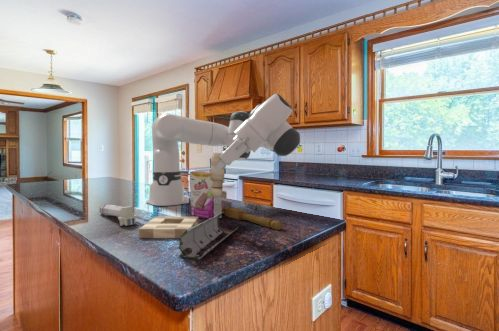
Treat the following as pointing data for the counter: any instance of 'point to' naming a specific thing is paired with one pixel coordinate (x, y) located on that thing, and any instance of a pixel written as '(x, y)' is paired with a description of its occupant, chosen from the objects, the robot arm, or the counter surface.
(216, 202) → the candy bar box
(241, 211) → the tap handle
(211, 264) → the counter surface
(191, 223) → the board
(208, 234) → the grey angled channel
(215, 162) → the peg
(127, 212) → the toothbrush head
